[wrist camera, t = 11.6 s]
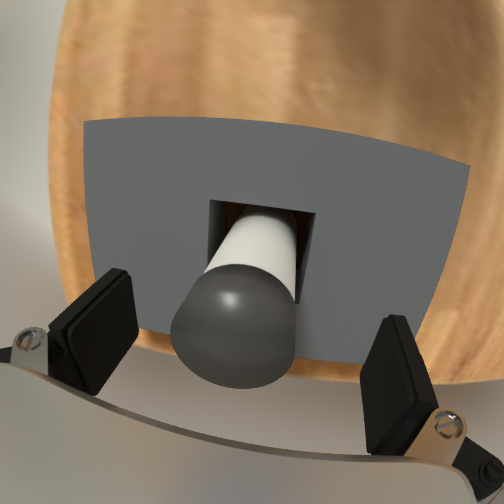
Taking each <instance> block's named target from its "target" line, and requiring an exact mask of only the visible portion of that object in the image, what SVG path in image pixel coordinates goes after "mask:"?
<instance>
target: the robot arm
mask: <svg viewBox="0 0 504 504" xmlns="http://www.w3.org/2000/svg"><path fill="white" fill-rule="evenodd" d="M48 327H49V329H50V331H49V332H48V333H46V331H45V330H43V329H42V328H38V327H30V328H27V329H24V330H22V331H21V332H19V333H18V334H17V335H16V337H15V338H14V341H13V345H12V347H7V348H2V349H0V504H504V465H503V464H502V462H501V461H500V460H499V459H498V458H496V457H495V456H494V455H492V454H491V453H489V452H488V451H486V450H485V449H483V448H482V447H481V446H479V445H477V444H476V443H475V442H473V441H472V440H470V439H469V438H467V437H466V433H467V423H466V421H465V419H464V417H463V416H462V415H461V414H460V413H459V412H458V411H457V410H455V409H453V408H449V407H440V408H439V406H438V402H437V399H436V396H435V393H434V390H433V387H432V384H431V381H430V378H429V375H428V372H427V369H426V366H425V363H424V361H423V358H422V356H421V354H420V352H419V350H418V347H417V344H416V342H415V339H414V337H413V334H412V331H411V329H410V326H409V324H408V322H407V319H406V317H405V316H403V315H394V314H390V315H389V316H388V317H387V318H383V320H382V322H381V325H380V327H379V330H378V332H377V335H376V337H375V340H374V342H373V344H372V347H371V349H370V351H369V354H368V356H367V358H366V361H365V363H364V365H363V367H362V369H361V373H360V385H361V393H362V402H363V411H364V422H365V434H366V447H367V452H368V453H371V455H347V454H331V453H317V452H305V451H295V450H288V449H280V448H273V447H266V446H260V445H254V444H248V443H243V442H237V441H233V440H228V439H223V438H219V437H215V436H210V435H206V434H202V433H198V432H195V431H190V430H187V429H184V428H180V427H177V426H173V425H170V424H166V423H163V422H160V421H157V420H154V419H151V418H148V417H145V416H142V415H139V414H136V413H134V412H131V411H128V410H125V409H123V408H120V407H118V406H115V405H112V404H110V403H108V402H105V401H103V400H100V399H98V398H96V397H93V396H96V395H97V394H98V393H99V391H100V390H101V389H102V387H103V386H104V384H105V383H106V381H107V380H108V378H109V377H110V375H111V374H112V373H113V371H114V370H115V368H116V367H117V366H118V364H119V363H120V361H121V360H122V358H123V357H124V356H125V354H126V353H127V351H128V350H129V348H130V347H131V346H132V344H133V343H134V342H135V340H136V339H137V337H138V334H139V327H138V321H137V315H136V308H135V301H134V293H133V286H132V278H131V276H130V275H128V272H127V271H126V270H123V269H118V268H111V269H110V270H109V271H108V272H107V273H105V274H104V275H103V276H102V277H101V278H100V279H99V280H97V281H96V282H95V283H94V284H93V285H92V286H91V287H89V288H88V289H87V290H86V291H85V292H84V293H83V294H82V295H80V296H79V297H78V298H77V299H76V300H75V301H74V302H73V303H72V304H71V305H70V306H68V307H67V308H66V309H65V310H64V311H63V312H62V313H61V314H60V315H59V316H58V317H57V318H56V319H55V320H54V321H52V323H50V324H49V325H48Z"/></svg>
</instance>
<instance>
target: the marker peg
mask: <svg viewBox="0 0 504 504" xmlns="http://www.w3.org/2000/svg"><path fill="white" fill-rule="evenodd" d="M296 232H297V227H296V220H295V217H294V215H293V213H292V212H291V210H290V209H283V208H276V207H268V206H261V205H253V204H248V205H247V206H246V207H245V208H244V209H243V210H242V212H241V214H240V215H239V217H238V218H237V220H236V222H235V223H234V225H233V226H232V228H231V230H230V231H229V233H228V234H227V236H226V238H225V239H224V241H223V242H222V244H221V246H220V247H219V249H218V251H217V252H216V254H215V255H214V257H213V259H212V260H211V262H210V264H209V265H208V267H207V269H206V270H205V272H204V273H203V275H201V276H200V277H199V278H198V279H197V281H196V282H195V283H194V285H193V286H192V288H191V290H190V291H189V293H188V295H187V296H186V298H185V299H184V301H183V303H182V304H181V306H180V308H179V309H178V311H177V313H176V314H175V316H174V318H173V320H172V323H171V328H170V336H171V342H172V345H173V348H174V350H175V352H176V354H177V355H178V357H179V358H180V360H181V361H182V362H183V363H184V364H185V365H186V366H187V367H188V368H189V369H190V370H191V371H193V372H194V373H195V374H197V375H198V376H200V377H201V378H203V379H205V380H207V381H209V382H212V383H214V384H217V385H220V386H225V387H229V388H236V389H250V388H257V387H261V386H265V385H268V384H270V383H272V382H274V381H276V380H277V379H279V378H280V377H282V376H283V375H284V374H285V373H286V372H287V371H288V369H289V368H290V366H291V364H292V362H293V359H294V356H295V343H296V318H297V314H296V305H295V274H296Z"/></svg>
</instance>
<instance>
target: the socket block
mask: <svg viewBox="0 0 504 504" xmlns="http://www.w3.org/2000/svg"><path fill="white" fill-rule="evenodd" d="M469 170H470V166H469V165H466V164H464V163H461V162H458V161H455V160H451V159H448V158H445V157H442V156H439V155H435V154H432V153H428V152H425V151H421V150H418V149H414V148H410V147H406V146H403V145H399V144H395V143H390V142H386V141H382V140H377V139H373V138H368V137H363V136H359V135H354V134H348V133H343V132H337V131H332V130H326V129H319V128H313V127H306V126H299V125H291V124H283V123H274V122H265V121H254V120H242V119H227V118H206V117H138V118H117V119H103V120H91V121H84V182H85V199H86V212H87V223H88V232H89V241H90V248H91V256H92V263H93V269H94V275H95V281H97V280H99V279H100V278H101V277H102V276H103V275H104V274H105V273H107V272H108V271H109V270H110V269H111V268H118V269H123V270H126V271H127V272H128V275H130V276H131V278H132V286H133V293H134V301H135V308H136V315H137V321H138V327H139V328H142V329H146V330H150V331H154V332H158V333H162V334H167V335H170V328H171V323H172V320H173V318H174V316H175V314H176V313H177V311H178V309H179V308H180V306H181V304H182V303H183V301H184V299H185V298H186V296H187V295H188V293H189V291H190V290H191V288H192V286H193V285H194V283H195V282H196V281H197V279H198V278H199V277H200V276H201V275H203V273H204V272H205V270H206V269H207V267H208V265H209V264H210V262H211V260H212V259H213V257H214V255H215V254H216V252H217V251H218V249H219V247H220V246H221V244H222V242H223V241H224V239H225V226H226V210H227V201H228V202H237V203H245V204H253V205H261V206H268V207H276V208H283V209H290V210H297V211H304V212H309V217H308V223H307V229H306V235H305V241H304V247H303V253H302V259H301V264H300V269H296V274H295V305H296V314H297V318H296V343H295V356H294V357H295V358H303V359H311V360H321V361H330V362H341V363H353V364H364V363H365V361H366V358H367V356H368V354H369V351H370V349H371V347H372V344H373V342H374V340H375V337H376V335H377V332H378V330H379V327H380V325H381V322H382V320H383V318H387V317H388V316H389V315H390V314H394V315H403V316H405V317H406V319H407V322H408V324H409V326H410V329H411V331H412V334H413V337H414V338H415V336H416V334H417V332H418V330H419V328H420V325H421V323H422V321H423V319H424V316H425V314H426V312H427V309H428V307H429V305H430V302H431V300H432V297H433V295H434V292H435V290H436V287H437V284H438V282H439V279H440V276H441V273H442V271H443V268H444V265H445V262H446V259H447V256H448V253H449V250H450V247H451V243H452V240H453V237H454V233H455V230H456V226H457V223H458V219H459V215H460V211H461V207H462V203H463V199H464V195H465V190H466V185H467V181H468V176H469Z"/></svg>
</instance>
